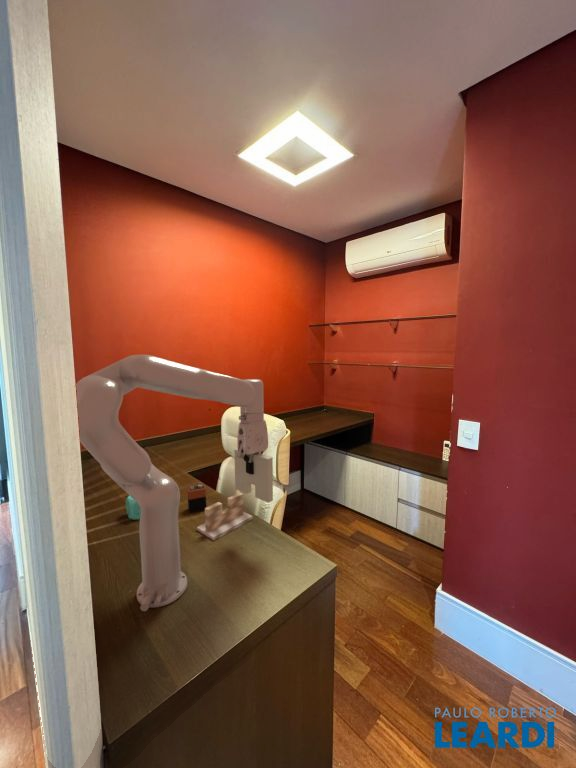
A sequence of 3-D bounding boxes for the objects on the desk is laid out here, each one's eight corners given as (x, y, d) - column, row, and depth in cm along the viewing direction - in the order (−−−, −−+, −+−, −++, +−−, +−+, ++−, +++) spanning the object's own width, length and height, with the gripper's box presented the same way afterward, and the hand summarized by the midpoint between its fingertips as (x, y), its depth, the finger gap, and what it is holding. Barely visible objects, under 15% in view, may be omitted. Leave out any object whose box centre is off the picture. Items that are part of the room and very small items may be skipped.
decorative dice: (126, 514, 124) (125, 495, 123) (147, 507, 129) (146, 489, 128) (131, 522, 118) (130, 502, 117) (153, 515, 123) (152, 495, 122)
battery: (206, 509, 126) (205, 486, 125) (189, 513, 124) (188, 489, 123) (205, 505, 130) (204, 482, 129) (188, 508, 128) (187, 485, 127)
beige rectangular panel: (268, 502, 97) (268, 459, 96) (235, 489, 107) (234, 449, 106) (272, 500, 98) (272, 457, 97) (239, 487, 109) (238, 448, 108)
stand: (213, 540, 105) (212, 514, 104) (196, 530, 111) (195, 505, 111) (252, 519, 119) (252, 495, 118) (235, 510, 125) (235, 488, 124)
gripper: (241, 422, 92) (242, 482, 94) (277, 415, 104) (277, 468, 106) (225, 419, 97) (226, 476, 99) (261, 412, 109) (261, 463, 111)
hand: (252, 471), depth 102 cm, fingers closed on beige rectangular panel, 2 cm apart
